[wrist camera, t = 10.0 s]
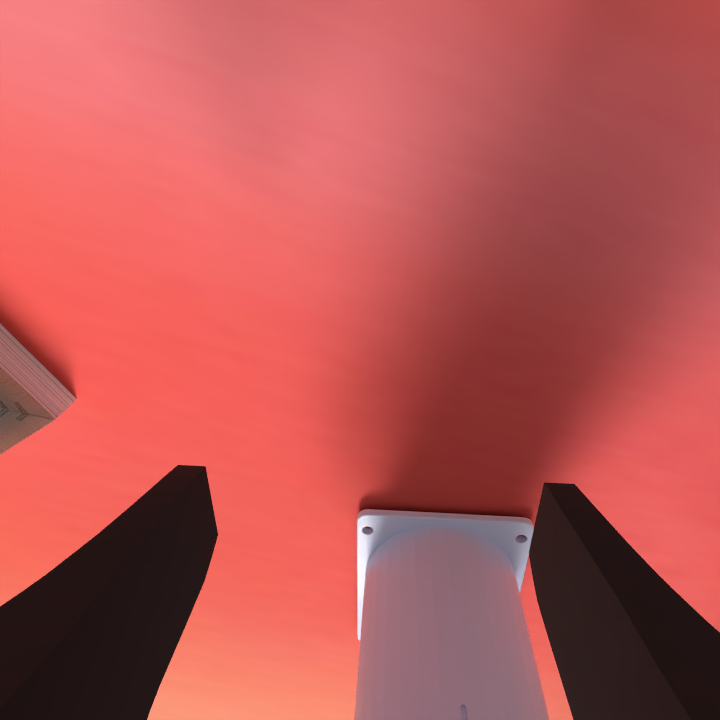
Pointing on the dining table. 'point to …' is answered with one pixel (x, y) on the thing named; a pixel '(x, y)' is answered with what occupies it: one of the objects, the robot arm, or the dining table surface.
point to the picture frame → (26, 393)
